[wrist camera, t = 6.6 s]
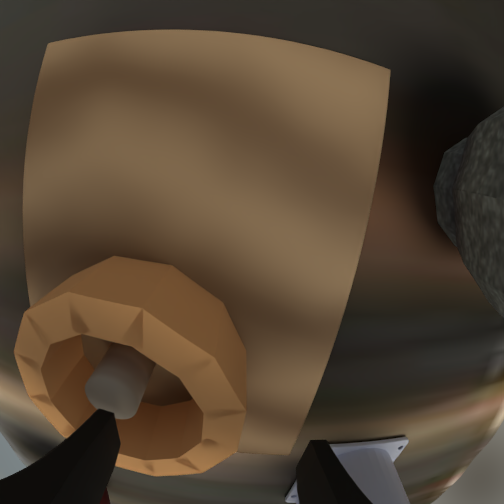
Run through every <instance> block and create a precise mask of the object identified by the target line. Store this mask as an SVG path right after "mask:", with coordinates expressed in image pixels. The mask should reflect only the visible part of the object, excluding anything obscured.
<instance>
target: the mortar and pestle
mask: <svg viewBox="0 0 504 504" xmlns="http://www.w3.org/2000/svg"><path fill="white" fill-rule="evenodd" d="M433 187H434V194H435V202H436V211H437V220H438V224H439V225H440V227H441V228H442V229H443V230H444V232H445V233H446V234H447V236H448V237H449V238H450V240H451V241H452V243H453V244H454V245H455V246H456V247H457V248H458V250H459V253H460V255H461V257H462V260H463V263H464V265H465V266H466V267H467V269H468V270H469V272H470V273H471V275H472V276H473V278H474V279H475V281H476V283H477V284H478V286H479V287H480V289H481V290H482V292H483V294H484V295H485V297H486V298H487V300H488V302H489V303H490V304H491V305H492V306H493V307H494V308H495V309H496V310H497V311H498V313H499V314H500V315H501V316H502V317H503V318H504V107H502V108H501V109H499V110H498V111H496V112H495V113H494V114H492V115H491V116H489V117H488V118H486V119H485V120H483V121H482V122H480V123H479V124H478V125H477V126H476V128H475V129H474V130H473V131H472V133H471V134H470V135H469V136H468V138H464V139H463V140H462V141H460V142H459V143H457V144H456V145H454V146H453V147H451V148H450V149H448V150H447V151H445V152H444V155H443V158H442V162H441V165H440V168H439V171H438V174H437V177H436V180H435V183H434V185H433Z"/></svg>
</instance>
